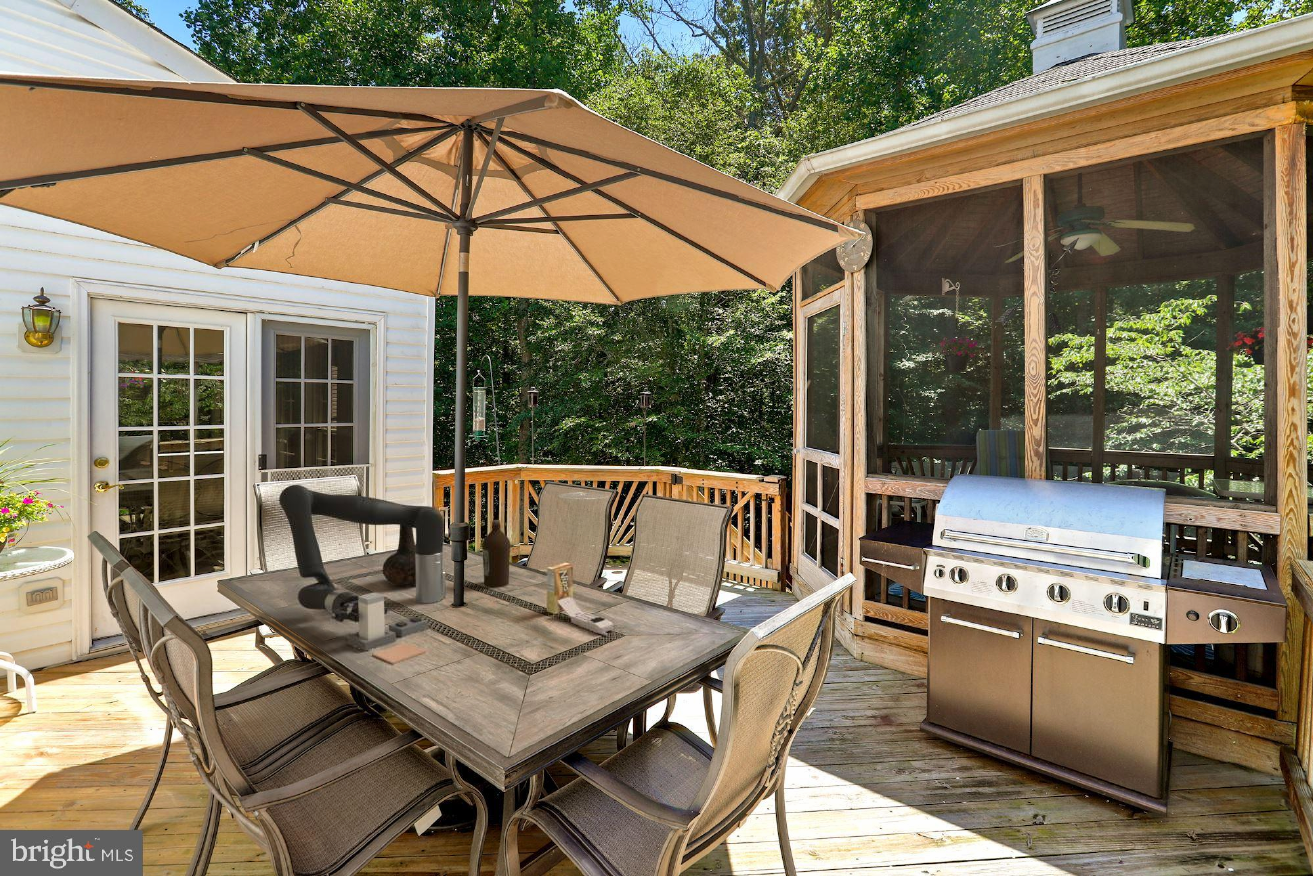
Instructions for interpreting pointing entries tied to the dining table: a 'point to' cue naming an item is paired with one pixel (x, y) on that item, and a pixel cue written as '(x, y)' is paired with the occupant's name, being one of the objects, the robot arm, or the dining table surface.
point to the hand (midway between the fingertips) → (372, 614)
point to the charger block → (371, 616)
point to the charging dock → (389, 633)
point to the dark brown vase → (402, 560)
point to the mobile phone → (585, 617)
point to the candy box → (559, 586)
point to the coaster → (399, 653)
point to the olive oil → (496, 557)
